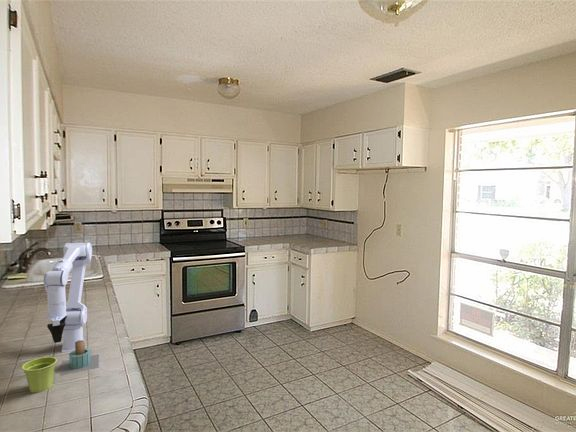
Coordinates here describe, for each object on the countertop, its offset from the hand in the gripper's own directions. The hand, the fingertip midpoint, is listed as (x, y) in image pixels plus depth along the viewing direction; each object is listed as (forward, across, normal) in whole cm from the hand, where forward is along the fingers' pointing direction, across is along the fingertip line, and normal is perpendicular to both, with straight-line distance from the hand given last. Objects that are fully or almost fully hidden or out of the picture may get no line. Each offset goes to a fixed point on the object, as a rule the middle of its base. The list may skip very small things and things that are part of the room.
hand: (58, 338), depth 136 cm
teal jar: (+10, +5, +7) cm, 13 cm away
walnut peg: (+9, +5, +7) cm, 12 cm away
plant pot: (+10, +17, -4) cm, 20 cm away
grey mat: (+10, +5, +7) cm, 13 cm away
